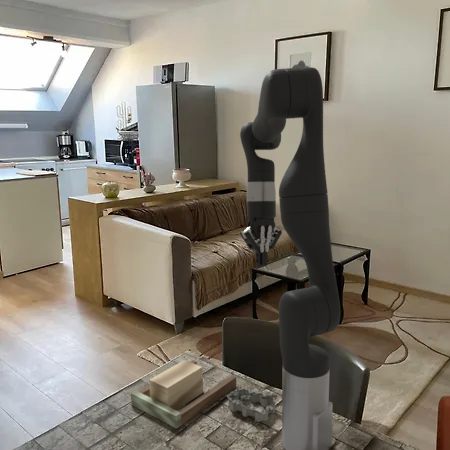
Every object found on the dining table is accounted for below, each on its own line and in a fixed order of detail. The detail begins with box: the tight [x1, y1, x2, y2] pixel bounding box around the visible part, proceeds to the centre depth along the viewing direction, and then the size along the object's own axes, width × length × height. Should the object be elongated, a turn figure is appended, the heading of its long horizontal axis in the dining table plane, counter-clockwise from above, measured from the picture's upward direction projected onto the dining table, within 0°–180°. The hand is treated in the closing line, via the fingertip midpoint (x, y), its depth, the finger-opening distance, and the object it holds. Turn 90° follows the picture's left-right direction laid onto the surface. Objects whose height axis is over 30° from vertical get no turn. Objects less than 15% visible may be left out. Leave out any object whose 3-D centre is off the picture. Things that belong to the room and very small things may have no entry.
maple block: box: [148, 359, 204, 411], centre depth 111 cm, size 6×12×7 cm, turn 141°
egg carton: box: [225, 386, 279, 423], centre depth 106 cm, size 11×8×4 cm
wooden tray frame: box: [130, 359, 237, 429], centre depth 113 cm, size 15×22×3 cm
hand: (261, 266), depth 120 cm, fingers closed
